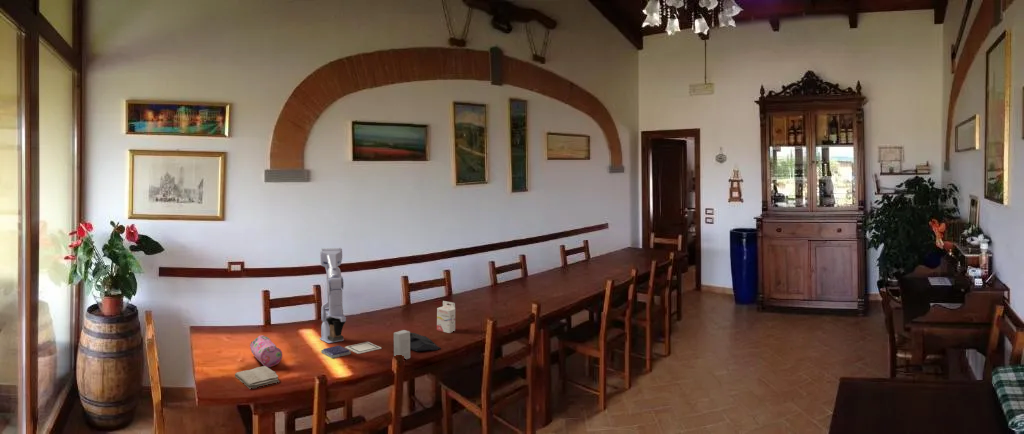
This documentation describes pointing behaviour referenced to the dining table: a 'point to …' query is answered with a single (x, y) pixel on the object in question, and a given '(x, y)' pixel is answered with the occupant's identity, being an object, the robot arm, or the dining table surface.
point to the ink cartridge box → (446, 317)
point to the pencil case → (266, 351)
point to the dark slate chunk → (421, 343)
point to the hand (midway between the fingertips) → (336, 334)
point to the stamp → (332, 335)
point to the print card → (363, 347)
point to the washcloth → (257, 377)
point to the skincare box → (402, 343)
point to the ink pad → (335, 351)
